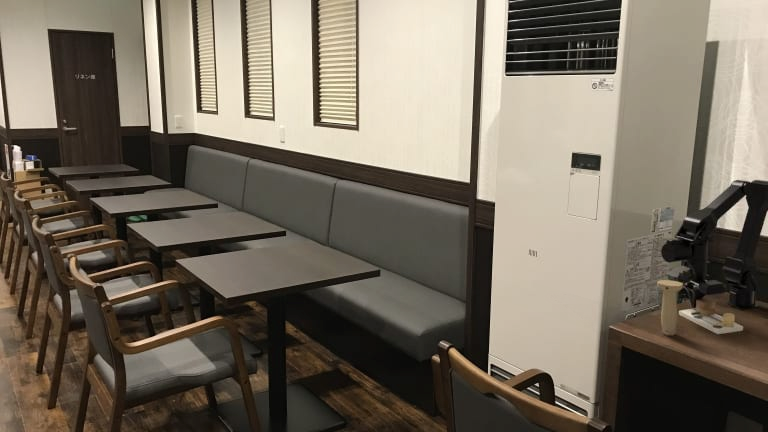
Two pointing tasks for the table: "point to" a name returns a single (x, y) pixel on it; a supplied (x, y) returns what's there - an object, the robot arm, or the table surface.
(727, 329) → the bolt plate
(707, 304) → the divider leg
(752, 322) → the table surface
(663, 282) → the handle
